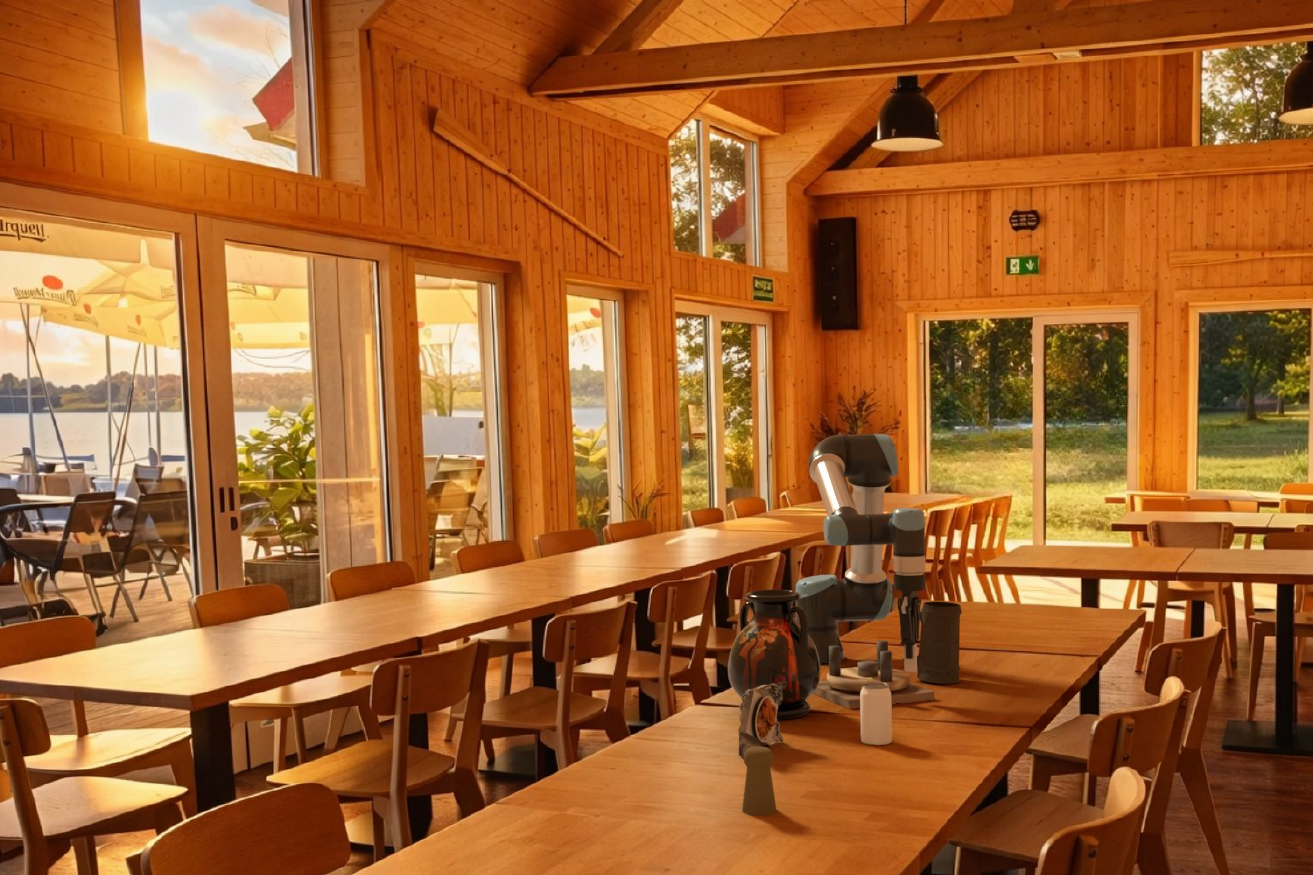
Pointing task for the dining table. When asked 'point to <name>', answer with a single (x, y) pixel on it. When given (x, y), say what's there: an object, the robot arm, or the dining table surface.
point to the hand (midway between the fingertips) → (910, 671)
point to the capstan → (865, 671)
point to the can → (876, 714)
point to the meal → (760, 717)
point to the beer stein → (939, 643)
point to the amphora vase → (775, 651)
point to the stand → (853, 697)
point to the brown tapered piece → (758, 782)
